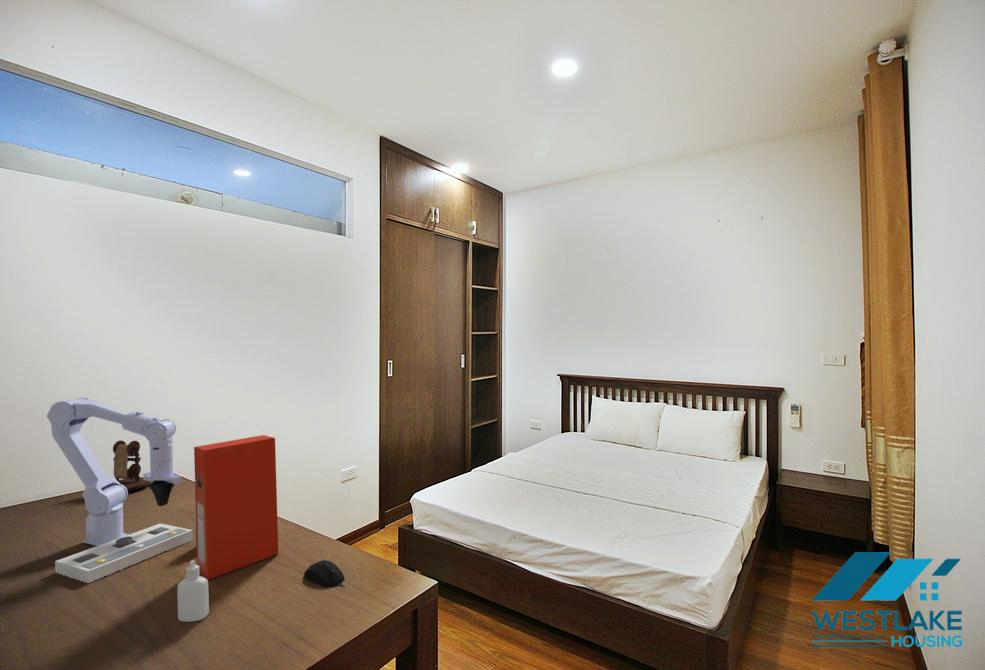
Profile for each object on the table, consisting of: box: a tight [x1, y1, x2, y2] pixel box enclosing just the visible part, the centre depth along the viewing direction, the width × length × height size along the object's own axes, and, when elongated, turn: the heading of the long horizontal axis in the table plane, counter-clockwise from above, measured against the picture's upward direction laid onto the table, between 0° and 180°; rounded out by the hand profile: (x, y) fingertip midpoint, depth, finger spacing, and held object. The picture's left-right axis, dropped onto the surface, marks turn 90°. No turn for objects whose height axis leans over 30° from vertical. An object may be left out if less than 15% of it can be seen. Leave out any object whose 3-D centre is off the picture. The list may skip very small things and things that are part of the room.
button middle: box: [116, 536, 132, 548], centre depth 131 cm, size 4×4×2 cm
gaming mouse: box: [303, 559, 347, 589], centre depth 114 cm, size 6×15×4 cm, turn 54°
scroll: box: [112, 440, 151, 493], centre depth 189 cm, size 15×15×20 cm
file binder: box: [193, 434, 279, 580], centre depth 124 cm, size 8×17×32 cm, turn 139°
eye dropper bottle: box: [176, 560, 210, 623], centre depth 99 cm, size 4×6×12 cm
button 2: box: [151, 528, 165, 535], centre depth 139 cm, size 4×4×2 cm
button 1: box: [77, 554, 95, 563], centre depth 122 cm, size 4×4×2 cm
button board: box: [54, 523, 194, 584], centre depth 130 cm, size 15×26×3 cm, turn 157°
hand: (162, 504), depth 143 cm, fingers closed
